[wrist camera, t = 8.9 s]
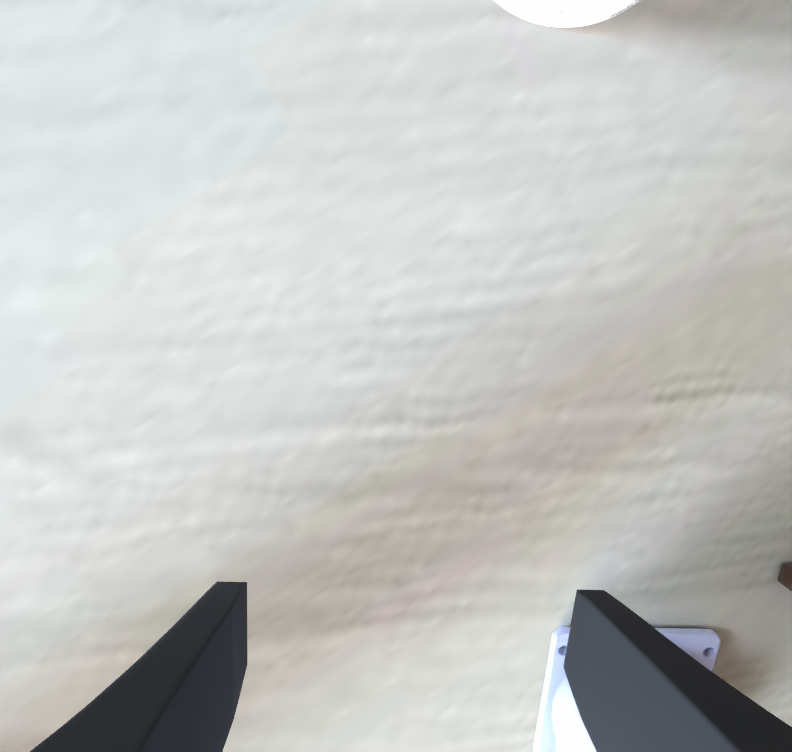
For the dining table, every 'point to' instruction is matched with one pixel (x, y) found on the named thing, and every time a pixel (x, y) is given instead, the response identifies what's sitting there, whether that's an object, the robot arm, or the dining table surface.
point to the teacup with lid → (565, 11)
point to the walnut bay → (786, 575)
